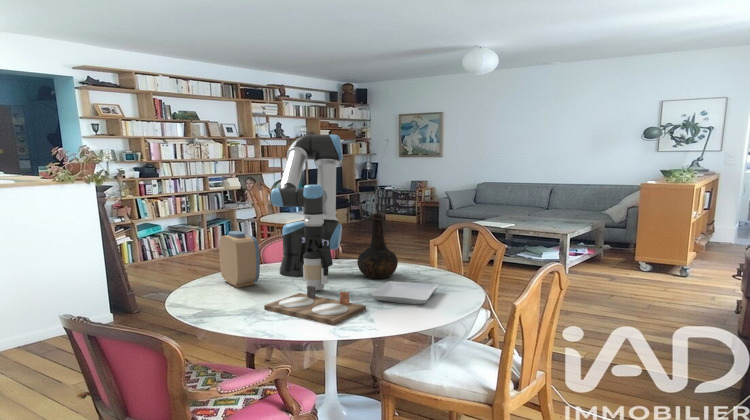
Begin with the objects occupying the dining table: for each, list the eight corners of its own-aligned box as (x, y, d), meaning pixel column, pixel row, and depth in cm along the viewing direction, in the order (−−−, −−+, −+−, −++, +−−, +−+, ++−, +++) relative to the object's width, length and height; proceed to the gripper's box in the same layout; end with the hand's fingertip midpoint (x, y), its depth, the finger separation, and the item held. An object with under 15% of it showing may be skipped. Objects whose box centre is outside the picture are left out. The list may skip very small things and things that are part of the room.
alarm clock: (260, 286, 193) (259, 234, 190) (238, 290, 187) (236, 236, 185) (241, 276, 209) (240, 228, 207) (220, 280, 203) (218, 230, 201)
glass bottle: (384, 270, 220) (383, 210, 217) (405, 278, 205) (405, 214, 202) (350, 275, 211) (349, 213, 208) (370, 283, 196) (370, 216, 193)
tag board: (264, 309, 162) (263, 293, 162) (299, 296, 177) (299, 282, 177) (333, 325, 146) (333, 308, 145) (365, 309, 161) (365, 294, 161)
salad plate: (369, 303, 170) (369, 293, 170) (388, 288, 190) (388, 280, 190) (426, 309, 163) (426, 299, 163) (440, 293, 183) (440, 284, 182)
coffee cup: (331, 287, 185) (331, 250, 184) (313, 292, 179) (313, 253, 177) (316, 283, 191) (316, 247, 190) (299, 288, 185) (298, 250, 183)
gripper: (286, 223, 185) (288, 280, 187) (329, 228, 173) (330, 288, 176) (299, 221, 191) (301, 276, 194) (341, 225, 180) (342, 283, 182)
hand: (315, 281), depth 185 cm, fingers closed on coffee cup, 8 cm apart
